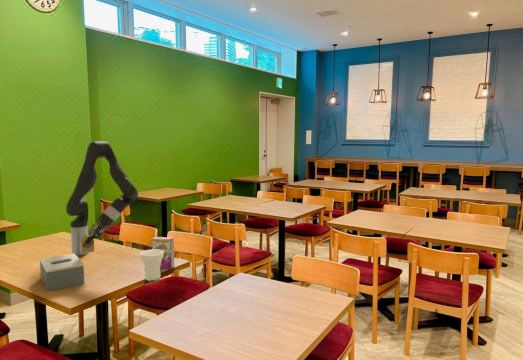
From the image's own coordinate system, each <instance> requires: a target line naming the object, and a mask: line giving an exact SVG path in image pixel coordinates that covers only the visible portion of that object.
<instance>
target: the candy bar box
mask: <svg viewBox="0 0 523 360" xmlns="http://www.w3.org/2000/svg"><path fill="white" fill-rule="evenodd" d="M174 240H175V238H174V237H169V236H168V237H164V236H154V237H153V238H151V249H158V250H162V251H163V252H164V256H163V258H162V261H161V265H160V269H173V268H174V266H175V241H174Z"/></svg>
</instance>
